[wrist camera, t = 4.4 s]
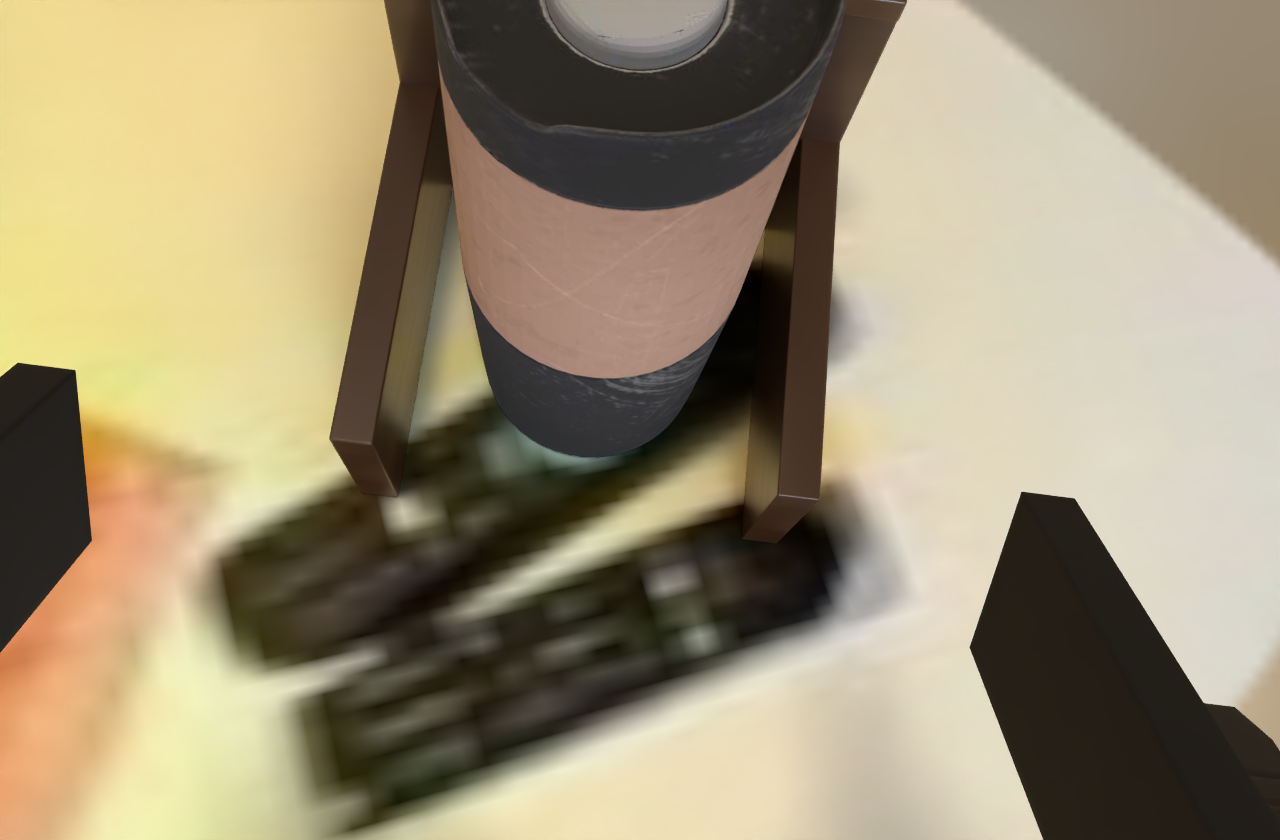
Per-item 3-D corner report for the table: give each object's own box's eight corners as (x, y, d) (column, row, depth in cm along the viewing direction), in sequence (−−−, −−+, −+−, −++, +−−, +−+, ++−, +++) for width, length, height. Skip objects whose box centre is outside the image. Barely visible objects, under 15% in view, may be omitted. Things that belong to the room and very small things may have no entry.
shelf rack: (360, 493, 37) (273, 348, 25) (424, 149, 41) (376, -121, 29) (777, 543, 37) (892, 427, 25) (800, 200, 41) (909, -43, 29)
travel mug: (693, 253, 40) (830, -218, 21) (711, 462, 38) (885, 141, 19) (474, 259, 40) (416, -225, 21) (480, 472, 37) (421, 149, 18)
